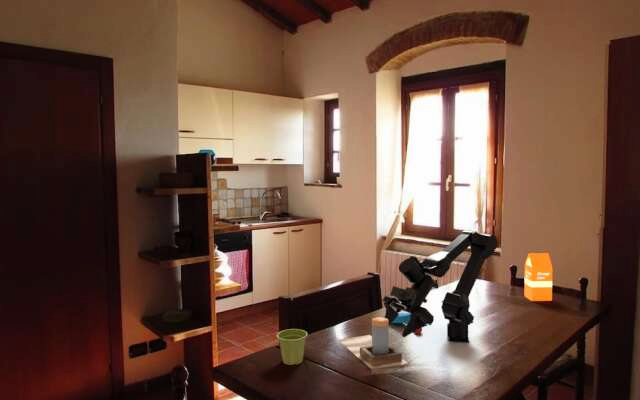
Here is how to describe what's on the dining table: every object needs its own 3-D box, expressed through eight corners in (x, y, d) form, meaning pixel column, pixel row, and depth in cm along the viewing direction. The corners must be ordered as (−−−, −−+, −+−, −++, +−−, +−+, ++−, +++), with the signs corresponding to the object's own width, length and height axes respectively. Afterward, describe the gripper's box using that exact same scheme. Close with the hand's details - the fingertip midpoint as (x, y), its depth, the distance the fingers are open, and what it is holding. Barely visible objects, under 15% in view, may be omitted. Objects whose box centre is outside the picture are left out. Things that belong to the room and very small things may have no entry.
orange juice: (552, 300, 207) (552, 254, 206) (531, 301, 207) (532, 255, 206) (543, 295, 215) (544, 251, 214) (524, 296, 215) (524, 251, 214)
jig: (337, 342, 163) (337, 332, 163) (369, 337, 168) (369, 327, 167) (372, 373, 139) (372, 361, 139) (408, 366, 143) (408, 355, 143)
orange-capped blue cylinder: (381, 353, 151) (381, 316, 150) (392, 359, 146) (391, 320, 145) (369, 357, 148) (368, 319, 147) (379, 362, 144) (378, 323, 143)
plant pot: (296, 370, 142) (295, 341, 142) (271, 363, 147) (270, 336, 147) (313, 359, 150) (313, 332, 149) (289, 353, 155) (288, 327, 154)
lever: (382, 335, 183) (414, 336, 168) (379, 317, 184) (410, 315, 169) (396, 332, 186) (428, 332, 171) (392, 313, 187) (424, 312, 172)
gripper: (386, 271, 159) (359, 310, 154) (426, 282, 143) (398, 326, 138) (404, 290, 163) (379, 329, 159) (445, 303, 148) (419, 346, 143)
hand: (392, 332), depth 149 cm, fingers open, 9 cm apart
